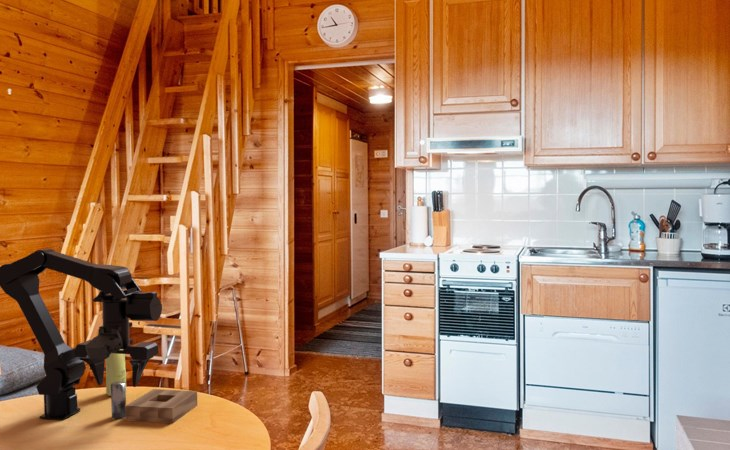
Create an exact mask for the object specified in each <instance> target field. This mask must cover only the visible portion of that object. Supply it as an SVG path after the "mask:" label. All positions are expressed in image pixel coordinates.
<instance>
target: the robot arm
mask: <svg viewBox="0 0 730 450" xmlns="http://www.w3.org/2000/svg"><path fill="white" fill-rule="evenodd" d="M46 270H50V271H51V270H52V271H55V272H57V273H61V274H64V275H67V276H71V277H73V278H76V279H80V280H82V281H86V282H87V283H89V285H90V286H91V287H92V288H94V289H96V290H97V291H99V293H98V294H97V295H96V296H95V297H94V298H92V301H93V303H101V309H102V310H101V312H102V315H101V317H102V325H100V326H98V328H99V329H98V334H97V335H96V336H95V337H93V338H92V339H88V340H86V341H82V342H81V343H80V342H79V343H77V344H76V345H75V347H70V346H69V345H67V343H66V342H65V340H64V339H63V337H62V334H61V333H60V331H59V329H58V327H57V325H56V323H55V321H54V319H53V317H52V315H51V313H50V311H49V310H48V308H47V306H46V304H45V302H44V299H43V298H42V296H41V294H40V291H39V290H40V278H39V275H41V274H42V273H43V272H45V271H46ZM0 289H1V290H2V291H3V292H4V294H6V296H9V297H10V298H12V299H13V300H15V302H16V303H17V304H18V306H19V308H20V310H21V312H22V313H23V316H24V318H25V320H26V321H27V323H28V325H29V327H30V330H31V331H32V334H33V335H34V337H35V339H36V342H37V343H38V345H39V347H40V349H41V350H42V352H43V370H44V373H45V377H44V378H43V379H42V380H40V382H39V383H38V384H37V385H36V390H37V392H38V395H40V396H43V407H44V408H43V409H44V413H42V414H40V415H39V419H46V420H48V419H49V420H60V421H61V420H66V419H67V418H69V417H71V416H73V415H75V414H76V413H78V412H80V411H81V408H80V407H78V394H77V393H76V387H75V386H76V385H77V386H78V385H79V384H80V382H81V378H83V376H84V374H85V372H86V369H87V367H86V364H88V366H89V367H90V369H91V372H92V373H93V376H94V379H95V381H96V383H97V385H98V386H101V385H102V384H103V381H104V375H105V364H106V359H107V358H108V357H109V356H110V354H111V353H115V354H125V355H129V357H130V358H131V359H130V360H129V363H130V365H131V368H132V369H131V370H132V371H131V372H132V381H131V382H132V387H134V388H136V387H138V385H139V383H140V380H141V377H142V375H143V373H144V370H145V368H146V366H147V364H148V362H149V361H150V360H151V359H153V358H154V357H155V356H156V355H158V354H159V353H160V352H159V351H160V349H159V346H158V344H157V342H151V341H150V342H149V341H148V342H146V341H142V342H140V343H137V344H134V345H132V344H133V343H134V342H133V341H134V340H133V339H132V338H131V339H130V328H131V327H133V322H132V321H134V322H136V321H137V322H141V321H142V322H144V321H145V322H158V320H159V319H160V318H161V315H162V312H163V311H162V310H163V305H162V304H163V303H162V302H161V299H160V298H159V296H158V292H157V291H150V292H149V291H147V292H145V291H142V289H141V288H140V286H139V285H138V284H137V282H136V281H135V280H134V278H133V277H132V273H131V270H130V269H129V268H127V267H125V266H121V265H115V264H99V263H98V264H97V263H94V262H92V261H91V262H90V261H88V260H84V259H81V258H78V257H74V256H71V255H69V254H64V253H62V252H59V251H56V250H54V249H51V248H43V249H38V250H35V251H33V252H32V253H30V254H29V255H26V256H24V257H22V258H19V259H18V260H15V261H12V262H11V263H5V264H1V266H0ZM130 320H131V321H130ZM120 349H123V350H120Z"/></svg>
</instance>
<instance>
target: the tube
mask: <svg viewBox="0 0 730 450" xmlns="http://www.w3.org/2000/svg"><path fill="white" fill-rule="evenodd" d="M120 350H123V349H120ZM126 370H127V369H126V354H115V353H111V354H110V356H109V357H108V358H107V359H105V388H106V389H105V390H106V395H107V396H109V397H111V383H114V382H119V381H123V382H125V387H126V388H127V373H126Z"/></svg>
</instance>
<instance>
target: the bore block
mask: <svg viewBox="0 0 730 450" xmlns="http://www.w3.org/2000/svg"><path fill="white" fill-rule="evenodd" d="M197 406H198V390H197V391H196V390H177V389H157V388H154V389H153V388H152V389H151V390H149V391H148V392H146V393H144V394H143V395H141V396H139V397H138V398H136V399H133V400H132V401H131V402H129V403H126V405H125V417H124V419H125V421H126V422H127V421H128V422H132V421H133V422H144V423H145V422H146V423H163V424H174V423H175V422H176V421H178V420H179V419H181V418H182V417H184V416H185V415H186V414H187V413H189V412H191V411H192V410H193V409H194V408H196V407H197Z"/></svg>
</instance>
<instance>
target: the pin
mask: <svg viewBox="0 0 730 450" xmlns="http://www.w3.org/2000/svg"><path fill="white" fill-rule="evenodd" d="M126 394H127V386H126V387H125V382H123V381H119V382H114V383H111V396H110V401H111V402H110V403H111V405H110V406H111V419H113V420H121V419H125V405H127V395H126Z"/></svg>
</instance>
